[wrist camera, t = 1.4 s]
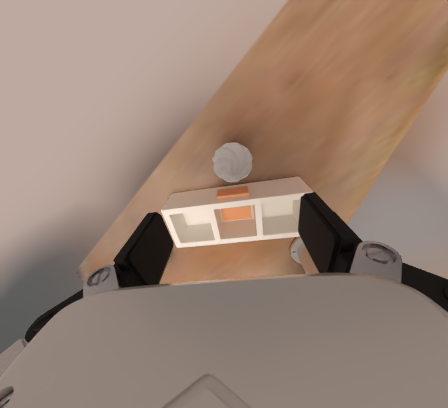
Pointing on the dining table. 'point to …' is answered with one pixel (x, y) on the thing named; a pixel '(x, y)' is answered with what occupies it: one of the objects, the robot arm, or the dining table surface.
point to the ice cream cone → (232, 162)
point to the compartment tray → (235, 212)
